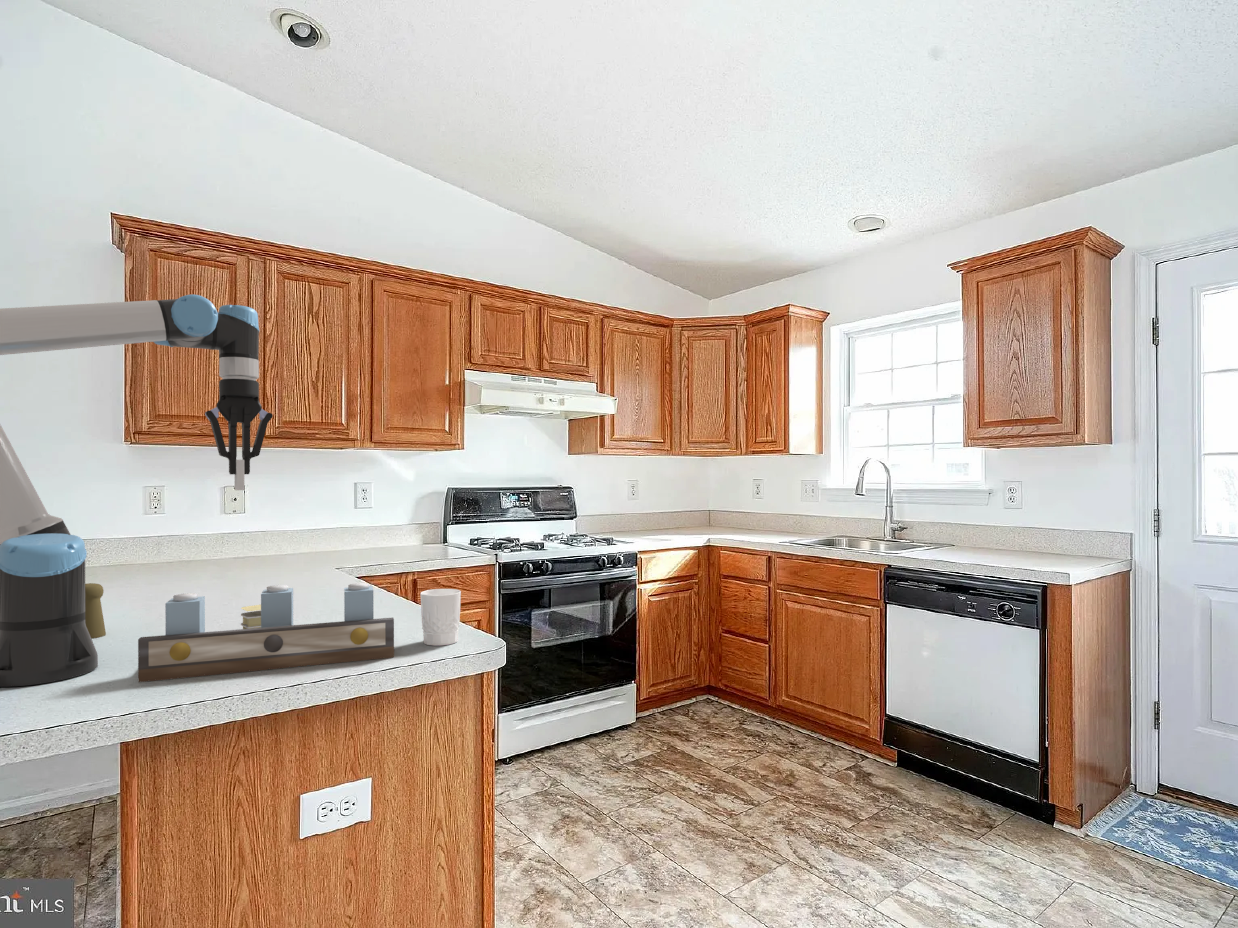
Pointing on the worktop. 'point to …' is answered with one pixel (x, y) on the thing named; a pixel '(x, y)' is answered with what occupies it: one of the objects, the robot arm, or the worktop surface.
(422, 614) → the white cup
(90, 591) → the cork
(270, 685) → the worktop surface
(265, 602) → the middle plunger
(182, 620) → the left plunger
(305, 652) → the button console
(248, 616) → the stacked layers on plate
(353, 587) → the right plunger
